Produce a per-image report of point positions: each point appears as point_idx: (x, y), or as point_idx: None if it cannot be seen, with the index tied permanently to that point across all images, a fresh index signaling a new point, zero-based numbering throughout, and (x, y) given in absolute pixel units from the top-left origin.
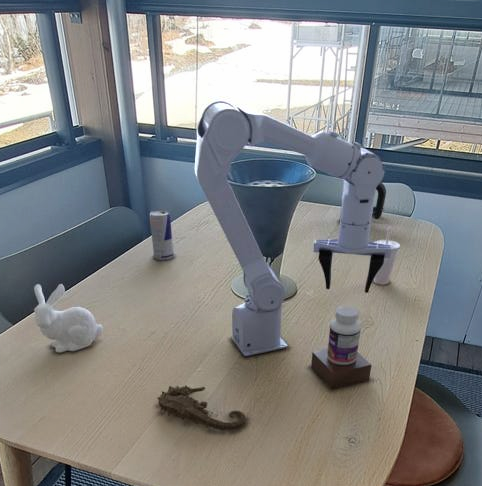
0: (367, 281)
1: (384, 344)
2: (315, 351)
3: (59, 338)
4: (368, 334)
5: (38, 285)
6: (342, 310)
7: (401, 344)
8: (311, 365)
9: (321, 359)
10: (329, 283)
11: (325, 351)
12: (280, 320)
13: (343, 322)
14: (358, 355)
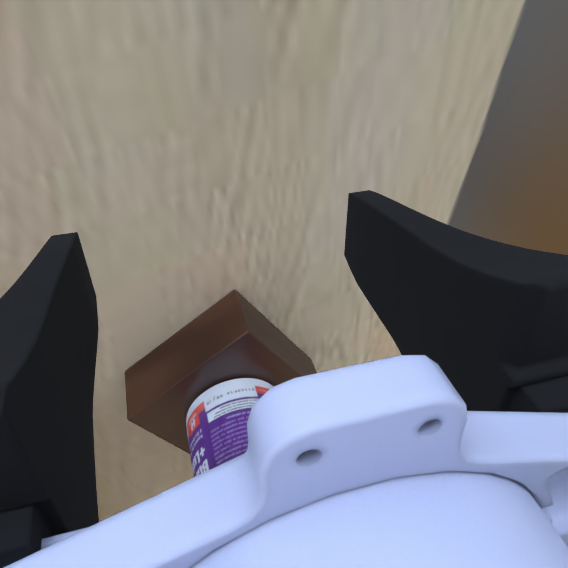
0: (384, 321)
1: (371, 139)
2: (136, 413)
3: None
4: (306, 69)
5: None
6: None
7: (439, 116)
8: (125, 377)
9: (171, 439)
10: (96, 341)
11: (172, 401)
12: None
13: None
14: (287, 377)
